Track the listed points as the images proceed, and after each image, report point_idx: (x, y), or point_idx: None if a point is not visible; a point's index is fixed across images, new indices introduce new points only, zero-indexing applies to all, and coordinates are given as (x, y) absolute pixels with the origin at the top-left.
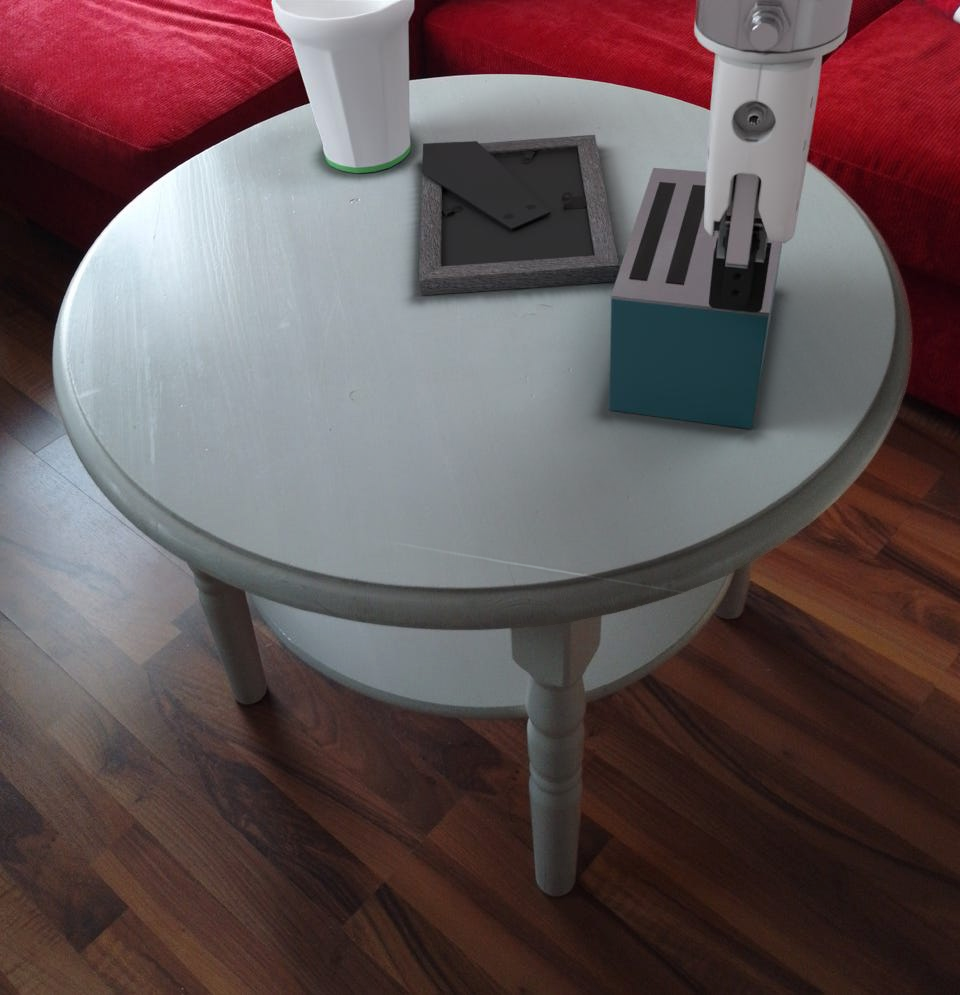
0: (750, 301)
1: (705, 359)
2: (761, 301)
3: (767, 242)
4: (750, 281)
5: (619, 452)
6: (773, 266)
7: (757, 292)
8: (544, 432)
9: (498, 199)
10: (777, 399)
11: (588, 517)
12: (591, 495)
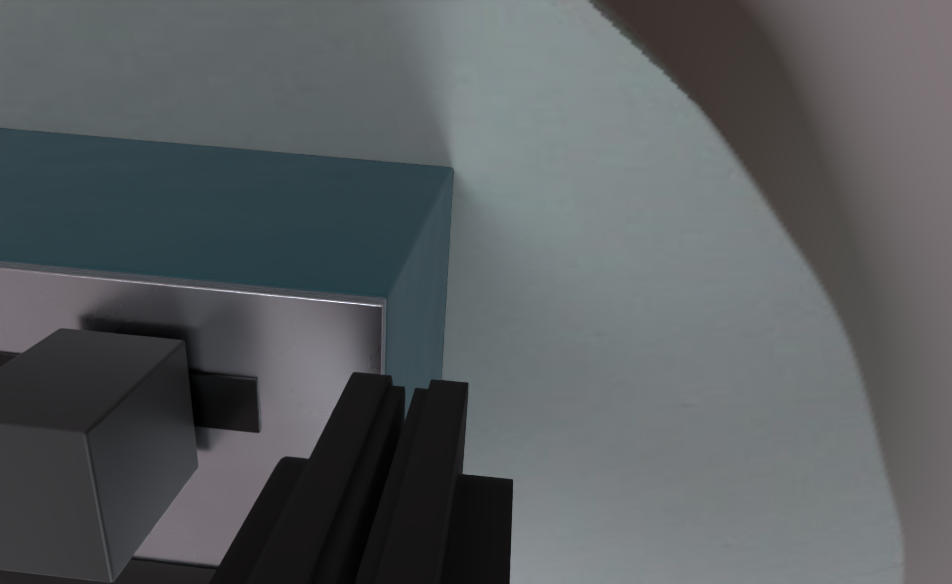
0: (461, 449)
1: (418, 373)
2: (462, 410)
3: (8, 398)
4: (506, 576)
5: (557, 427)
6: (62, 286)
7: (457, 461)
8: (515, 550)
9: None
10: (333, 106)
11: (742, 467)
12: (682, 466)
